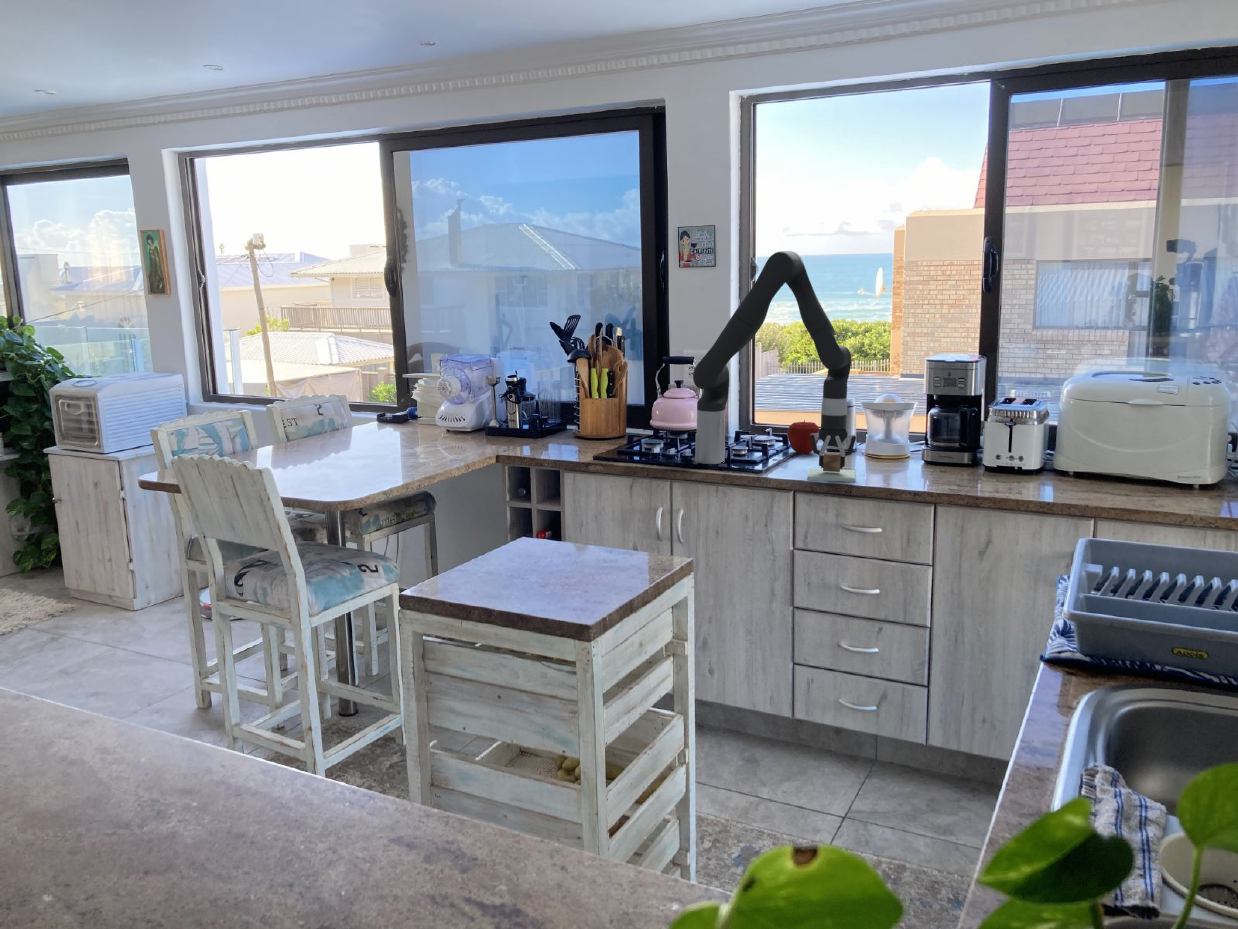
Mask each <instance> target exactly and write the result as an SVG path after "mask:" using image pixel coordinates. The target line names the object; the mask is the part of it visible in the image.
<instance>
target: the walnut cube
mask: <svg viewBox="0 0 1238 929" xmlns="http://www.w3.org/2000/svg"><path fill="white" fill-rule="evenodd" d="M823 455H824V459H823V468H822V469H823V471H828V472H840V470H841V469H840V459H841V453H840V452H835V451H834V452H833V451H831V452H830V451H825V452H824V454H823Z"/></svg>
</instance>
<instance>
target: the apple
mask: <svg viewBox="0 0 1238 929" xmlns="http://www.w3.org/2000/svg"><path fill="white" fill-rule="evenodd" d="M819 432H820V427H819V425H817V423H815V422H813V421H812V422H811V421H810V422H809V421H806V420H805V419H804V420H803V421H797V422H792V423H791V425H789V426H788V429H787V430H786V433H787V441H788V443H789V445H790V448H791V450H792V451H794V453H795V454H798V455H809V454H811V453H812V452H813V448H812V443H811V438H810V435H811V434H812V433H813V434H816V433H819ZM819 439H820V436H819V437H818V439H817V441H816V445H817V446H818V442H819Z"/></svg>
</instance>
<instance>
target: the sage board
mask: <svg viewBox="0 0 1238 929" xmlns="http://www.w3.org/2000/svg"><path fill="white" fill-rule="evenodd" d="M856 479H857V478H856V470H854V469H853V470H851V469H840V472H828V471H823V468H808V472H807V480H808V481H826V482H827V481H830V482H849V483H851V482H852V483H853V482H854V483H856Z"/></svg>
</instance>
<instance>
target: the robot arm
mask: <svg viewBox="0 0 1238 929" xmlns="http://www.w3.org/2000/svg"><path fill="white" fill-rule="evenodd" d="M785 284H786V285H787V286H788V287H789V289H790V291H791V292H792V294H793V295H794V297H795V298H794V299H796V300H795V301H796V303H797V306H798V310H799V315H800V319H801V321H802V323H803V325H804V327H805V330H807V332H808V335H809V336H810V338H811V339H812V341H813V342H814V347H815V350H816V353H817V356H818V358H819V359H820V363H821V364H822V365H823V366H824V367H825V368H826V369H827V376H826V378H825V379H824V381H823V385H822V386H823V387H822V388H823V389H822V402H821V409H820V410H821V414H820V429H819V431H820V432H819V433H816V434H813V433H812V434H811V435H810V438H811V443H812V448H813V451H812V452H813V454H814V455H818V457H819V458H818V466H819V467H820V469H823V459H824V452H826V449H827V448H828V447H832V446H833V447H838V450H839V453H841V459H840V470H843V468H845V466H846V465H845V464H846V456H851V455H852V454H853V449H854V446H855V443H856V440H857V435H855V434H849V433H848V432H847V420H848V418H847V417H848V398H847V397H848V380H849V376H850V372H851V367H852V354H851V351H850V349H849V348H848V347H846V346H845V345H841V344H838V341H837V340H836V338H835V334H836V331H835V328H834V326H833V324H832V322H831V321H830V319H829V317H828V315H827V314H826V312H825V309H824V308H823V306H822V304H821V302H820V300H819V298H818V296H817V295H816V292H815V290H814V287H813V284H812V283H811V280H810V278H809V275H808V271H807V268H806V266H805V264H804V261H803V259H802V257H801V256H800V255H799V254H798V253H797V252H795V251H792V250H791V251H790V250H784V251H782V250H781V251H777V252H775V253H773V254H771V255H770V256H769V258H768V259H767V260H766V261H765V264H764V265H763V268H762V270H761V272H760V273H759V275H758V276H757V279H756V281H755V283H754V285H753V286H752V287H751V288H750V290H749V291H748V293H747V295H746V296H744V298H743V300H742V301H741V303H740V304H739V305H738V307H737V308H736V310H735V311H734V313H733V314H732V316H731V317H730V319H729V320H728V322H727V323H726V325H725V327H724V328H723V329H722V331H721V332H720V334H719V335H718V337H717V338H716V340H715V342H714V343H713V345H712V346H711V347H710V348H709V350H708V351H707V352H706V353H705V355H704V356H703V357H702V358H701V359H700V360H699V362H698V363H697V364H696V366H695V368H694V370H693V373H692V380H693V383H694V385H695V386H696V387H697V388H698V389H699V390H703V391H702V395H701V396H700V398H699V399H698V400H697V403H696V433H695V439H694V440H695V447H694V448H695V449H694V450H695V451H694V455H695V456H694V459H695V460H694V462H695V463H696V464H697V463H698V464H704V465H717V464H722V463H721V462H723V461H724V462H725V457H726V455H725V454H726V453H725V452H726V409H727V408H726V406H727V402H728V400H729V393H730V392H729V391H730V370H729V368H728V365H727V364H728V363H729V362H730V360H731V359H732V358H733V357H735V355H737V353H739V352H740V351H741V350H742V349H743V348H744V347H746V346H748V344H749V343H750V342H751V341H752V340H753V338H755V336H756V334H757V333H758V332H759V330H760V329H761V327H762V326H763V324H764V322H765V320H766V317H767V314H768V311H769V308H770V304H772V303H771V302H772V301H773V299H774V298H775V296H776V295H777V293H778V292H779V291H780V289H781V288H782V287H783V286H784V285H785ZM818 437H819V439H820V440H821V441H822V445H821V447H820V449H818V444H817V445H816V441H817V439H818ZM846 439H847V440H848V442H849V445H848V447H847V448H848V449H847V450H845V448H844V445H843V442H845V440H846ZM724 462H723V463H724Z"/></svg>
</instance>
